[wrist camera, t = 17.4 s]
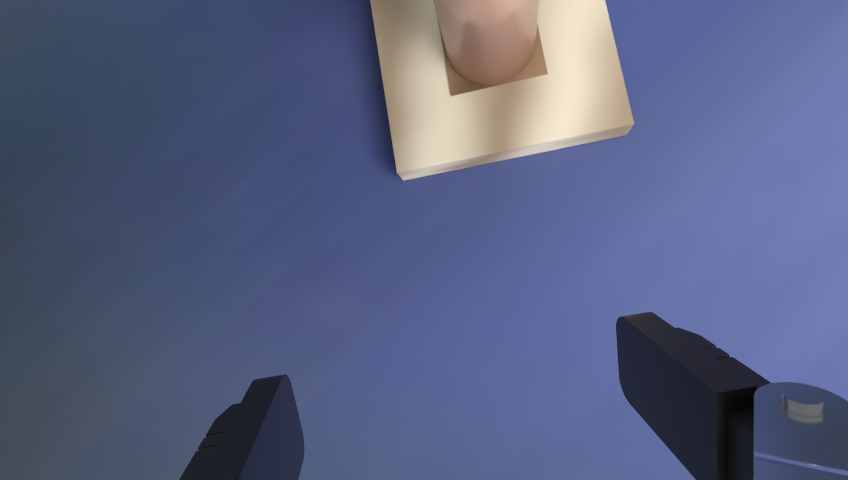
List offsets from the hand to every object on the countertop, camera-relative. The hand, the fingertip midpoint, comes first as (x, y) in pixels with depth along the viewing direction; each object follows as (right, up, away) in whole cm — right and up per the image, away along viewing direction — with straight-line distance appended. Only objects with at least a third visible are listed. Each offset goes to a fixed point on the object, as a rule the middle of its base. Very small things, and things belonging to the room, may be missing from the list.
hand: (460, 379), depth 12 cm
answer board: (+3, +14, +15) cm, 21 cm away
